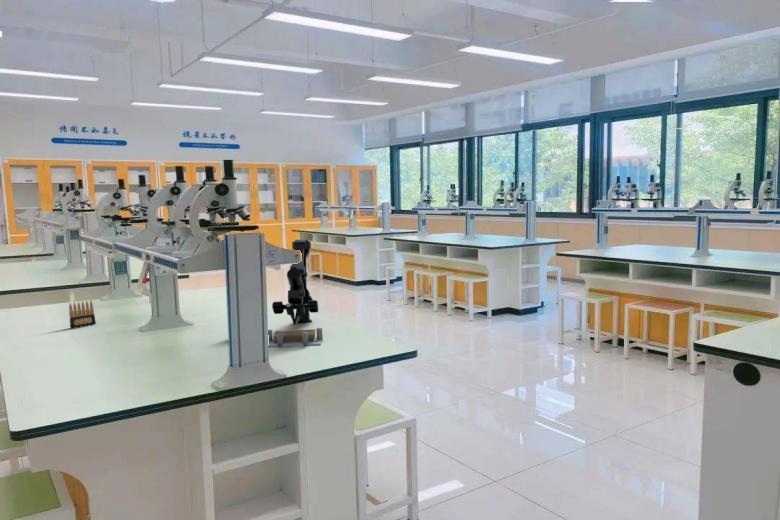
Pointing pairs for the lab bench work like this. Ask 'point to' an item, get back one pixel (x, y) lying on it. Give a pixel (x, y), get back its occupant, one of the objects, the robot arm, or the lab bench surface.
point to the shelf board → (295, 335)
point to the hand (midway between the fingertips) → (294, 324)
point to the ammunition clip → (81, 315)
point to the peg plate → (304, 342)
